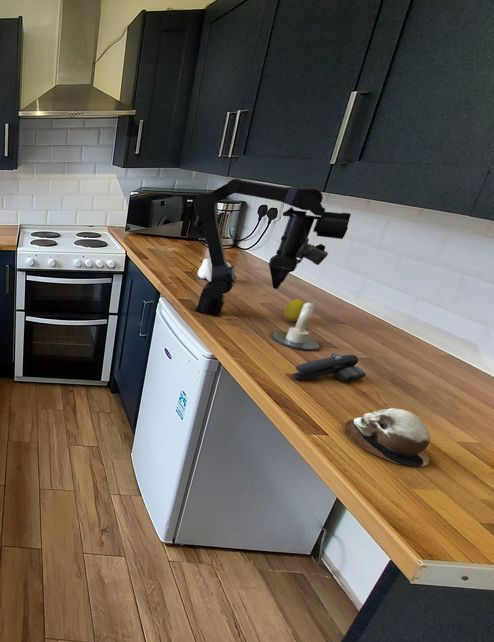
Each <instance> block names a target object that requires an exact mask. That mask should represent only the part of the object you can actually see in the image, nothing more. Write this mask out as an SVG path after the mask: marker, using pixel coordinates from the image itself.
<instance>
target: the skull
mask: <svg viewBox="0 0 494 642" xmlns="http://www.w3.org/2000/svg"><path fill="white" fill-rule="evenodd" d="M344 430H345V433H346V434H347V435H348V437H349V438H350V439H351V440H352V441H353V442H355V444H357V445H359V447H361V448H362V449H364V450H366V451H367V452H369V453H370V454H373V455H375V456H377V457H379V458H381V459H384V460H387V461H388V462H392V463H395V464H398V465H400V466H405V467H409V468H410V467H411V468H419V467H425V466H427V465H429V463H430V456H429V454H428V453H427V451H426V449H428V446H429V444H431V436H430V432H429V429H428V428H427V426H426V425H425V423H424V422H423V420H421V419H420V417H418V416H417V415H416V414H414V413H413V412H411V411H408V410H405V409H401V408H396V407H395V408H394V407H390V408H387V409H385V408H384V409H380V410H377V411H375V410H374V411H372V412H367V413H364V414H363V415H362V416H361V417H356V418H354V419H350V420H348V421H346V422H345V423H344Z"/></svg>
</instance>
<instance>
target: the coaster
mask: <svg viewBox="0 0 494 642" xmlns="http://www.w3.org/2000/svg"><path fill="white" fill-rule="evenodd" d="M287 333H288V331H276V332H274V333H272V337H271V338H272V340H274V341H275V342H276V343H278V344H280V345H281V346H285V347H288V348H291V349H294V350H299V351H305V352H313V351H318V350H319V349H320V344H319V343H318V342H317V341H316V340H314V339H312V338H310V337H309V336H308V337H307V339H306V342H305V343H295V342H292V341H289V340H288V339H286V336H287Z"/></svg>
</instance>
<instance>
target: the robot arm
mask: <svg viewBox="0 0 494 642" xmlns="http://www.w3.org/2000/svg"><path fill="white" fill-rule="evenodd" d="M233 194H238V195H244V196H249V197H255V198H261V199H267V200H272V201H278V202H281V203H283V204H285V205H289V206H291V207H290V208H288V209H287V210H285V211H283V212H282V214H281V215H282V217H288V220H287V223H286V226H285V229H284V231H283V235H282V236H281V238H280V244H279V246H278V249H277V250H276V252H275V253H276V254H275V255H273V256H272V257H270V259H269V262H268V267H269V271H270V278H271V283H272V288H273V289H274V290H278V289H279V288H280V286H281V284H282V283H284V281H285V280H286V278H287V277H288V275H289V273H292V272H294V271H295V270H296V269H297V267H298V265H299V264H300V263H302V261H303V259H304V258H305V259H306V260H308V261H310V262H312V263H313V264H314V265H317V266H319V265H320V264H321V263H322V262H323V261H324V260H325V259H326V258H327V257H328V256H329V253H328V251H326V248H327V247H326V245H324V244H322V243H319V244H317V245H314V244H310V243H309V241H310V238H309V236H310V234H311V230H312V227H313V224H314V227H313V230H312V232H313V233H316V237H320V238H321V237H322V238H329V239H330V238H331V239H339V240H343V238H344V237H345V236H346V233H347V231H348V229H349V223H350V218H351V213H350V212H335V211H334V212H332V211H326V208H325V207H323V205H322V202H323V197H324V196H323V193H322V192H321V190H320V188H317V187H315V186H279V185H274V184H267V183H263V182H262V183H261V182H255V181H250V180H244V179H243V180H242V179H240V178H233V179H231V180H228V182H227V183H226V184H223V185H222V186H220V187H218V188H216V189H215V190H213V191H205V192H203V193H201V194H199V195H197V196H196V197H195V199H194V200H193V208H194V210H195V213H196V215H197V217H198V218H199V220H200V222H201V224H202V226H203V231H204V236H205V240H206V245H207V249H208V254H209V259H211V263H212V276H211V280H212V281H210V282H209V281H208V282H207V283H206V284H205V286H203V288H202V291H201V293H200V296H199V300H198V303H197V307H196V308H195V309H194V311H195V312H198V313H201V314H206V315H209V316H212V317H213V316H214V317H217V316H218V315H219V314H220V313H222V311H223V308H224V304H225V302H226V300H225V299H224V298H225V294H226V293H229V292H230V291H231V290H232V288H233V286H234V284H235V282H236V280H237V278H238V277H237V276H236V273H235V265H231V267H229V266H228V264H227V262H228V261H227V259H226V255H225V250H224V246H223V240H222V235H221V231H220V227H219V222H218V214H219V202H220V201H223V200H224V199H227V198H228V197H230V196H232V195H233ZM293 207H294V208H297V209H299V210H296V209H294V208H293ZM307 211H310V212H311V213H312V214H313V215H310V214H307ZM315 220H316V222H315ZM314 222H315V223H314Z"/></svg>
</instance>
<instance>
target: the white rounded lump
mask: <svg viewBox="0 0 494 642" xmlns="http://www.w3.org/2000/svg"><path fill="white" fill-rule="evenodd" d="M226 262H227V264H228V266H229V267H232V265H231V263H230V262H228V261H226ZM197 276H198V278H199V279H201V280H205V279H206V280H207V281H208V282H210V281H212V280H211V276H212V263H211V259H210V258H204V259H203V260H202V263H201V265H200V267H199V269H198V271H197Z"/></svg>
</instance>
